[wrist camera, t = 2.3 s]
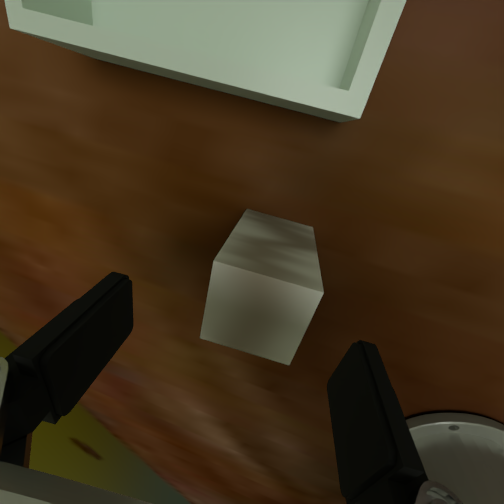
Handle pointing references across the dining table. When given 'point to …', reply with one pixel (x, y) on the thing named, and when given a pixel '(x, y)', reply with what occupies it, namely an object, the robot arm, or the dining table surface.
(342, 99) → the sage bin
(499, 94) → the dining table surface
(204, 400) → the dining table surface
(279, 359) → the cream block
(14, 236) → the dining table surface
